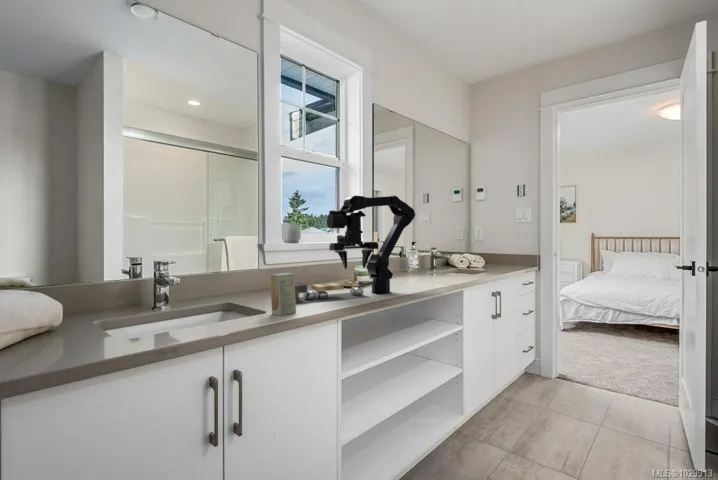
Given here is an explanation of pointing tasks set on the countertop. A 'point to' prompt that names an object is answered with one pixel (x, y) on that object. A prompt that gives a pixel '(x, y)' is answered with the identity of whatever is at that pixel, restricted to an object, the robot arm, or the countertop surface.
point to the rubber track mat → (332, 298)
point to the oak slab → (327, 287)
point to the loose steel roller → (309, 295)
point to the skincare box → (283, 294)
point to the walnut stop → (299, 290)
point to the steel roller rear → (356, 291)
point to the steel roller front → (321, 294)
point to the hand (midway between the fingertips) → (354, 268)
